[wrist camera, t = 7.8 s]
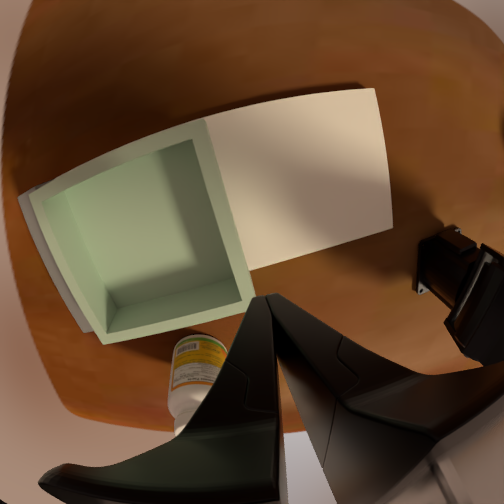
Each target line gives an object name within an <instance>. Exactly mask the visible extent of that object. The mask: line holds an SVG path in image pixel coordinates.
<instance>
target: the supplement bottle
mask: <svg viewBox="0 0 504 504" xmlns="http://www.w3.org/2000/svg"><path fill="white" fill-rule="evenodd" d="M226 356H227V350H226V348H225V346H224V345H223V344H222V343H221V342H220V341H219V340H217V339H215V338H213V337H211V336H207V335H190V336H187V337H185V338H183V339H181V340H180V341H179V342H178V343H177V344H176V346H175V348H174V351H173V357H172V366H171V375H170V384H169V393H168V408H169V411H170V413H171V414H172V416H173V417H174V418H175V421H174V434H175V436H177V435H178V434H179V433H180V432H181V431H182V430H183V429H184V427H185V426H186V424H187V423H188V421H189V420H190V419H191V417H192V416H193V414H194V413H195V411H196V410H197V408H198V407H199V405H200V404H201V402H202V401H203V399H204V398H205V396H206V395H207V393H208V391H209V390H210V388H211V386H212V385H213V383H214V381H215V379H216V377H217V375H218V373H219V371H220V369H221V367H222V365H223V363H224V361H225V358H226Z"/></svg>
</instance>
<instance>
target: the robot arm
mask: <svg viewBox="0 0 504 504" xmlns="http://www.w3.org/2000/svg"><path fill="white" fill-rule="evenodd" d="M480 248H481V249H479V248H477V243H476V242H474V241H473V240H471V239H469V238H468V237H466V236H464V235H462V234H461V229H460V228H458V227H456V228H454V229H449V230H446V231H444V232H441V233H438V234H436V235H435V236H432V237H430V238H427V239H424V240H422V241H420V243H419V249H418V271H417V285H416V292H417V293H418V294H419V295H421V294H423V293H425V292H427V291H431V292H432V293H433V294H434V295H435V296H436V297H438V298H439V299H440V300H441V301H442V302H443V303H444V304H445V305H446V306H447V307H448V308H450V309H451V312H450V314H449V316H448V317H447V318H446V319H445V321H444V325H445V326H446V328H447V330H448V332H449V333H450V335H451V336H452V338H453V340H454V341H455V343H456V345H457V346H458V348H459V350H460V351H461V353H463V354H464V356H465V357H467V358H471V359H473V360H475V361H478V362H480V363H481V364H482V365H483V366H484V367H479V368H474V369H469V370H464V371H458V372H452V373H446V374H439V375H426V374H421V373H417V372H415V371H412V370H410V369H408V368H406V367H403V366H401V365H399V364H397V363H395V362H392V361H390V360H388V359H386V358H384V357H382V356H380V355H378V354H376V353H374V352H372V351H370V350H368V349H366V348H364V347H362V346H360V345H359V344H357V343H355V342H354V341H352V340H350V339H349V338H347V337H346V336H343V335H342V334H341V333H339V332H338V331H336V330H334V329H333V328H331V327H330V326H328V325H327V324H325V323H323V322H322V321H320V320H319V319H317V318H316V317H314V316H313V315H311V314H309V313H308V312H306V311H305V310H303V309H302V308H300V307H299V306H297V305H296V304H294V303H292V302H291V301H289V300H288V299H286V298H285V297H283V296H282V295H280V294H279V293H272V294H267V295H266V296H263V295H262V296H256V297H253V298H252V299H251V301H250V304H249V306H248V308H247V310H246V313H245V315H244V317H243V320H242V322H241V324H240V327H239V329H238V331H237V333H236V336H235V338H234V340H233V343H232V345H231V347H230V349H229V352H228V354H227V356H226V358H225V361H224V363H223V365H222V367H221V369H220V371H219V373H218V375H217V377H216V379H215V381H214V383H213V385H212V386H211V388H210V390H209V391H208V393H207V395H206V396H205V398H204V399H203V401H202V402H201V404H200V405H199V407H198V408H197V410H196V411H195V413H194V414H193V416H192V417H191V419H190V420H189V421H188V423H187V424H186V426H185V427H184V429H183V430H182V431H181V432H180V433H179V434H178V435H177V436H176V437H175V438H174V439H172V440H171V441H169V442H167V443H165V444H163V445H160V446H158V447H156V448H154V449H152V450H149V451H147V452H145V453H142V454H140V455H138V456H135V457H133V458H130V459H128V460H125V461H123V462H120V463H117V464H114V465H110V466H104V467H87V466H81V465H77V464H69V463H66V464H62V465H60V466H57V467H55V468H53V469H51V470H49V471H47V472H46V473H45V474H44V475H43V476H42V477H41V478H40V480H39V481H38V484H39V486H40V487H41V488H42V489H43V490H44V491H46V492H47V493H49V494H50V495H52V496H54V497H55V498H57V499H59V500H61V501H62V502H64V503H66V504H288V493H287V492H288V491H287V478H286V462H285V449H284V437H283V423H282V410H281V398H280V387H279V375H278V364H277V358H278V361H279V364H280V366H281V369H282V371H283V374H284V376H285V379H286V381H287V384H288V386H289V389H290V391H291V394H292V396H293V399H294V401H295V404H296V406H297V409H298V411H299V414H300V416H301V419H302V421H303V423H304V426H305V428H306V431H307V433H308V435H309V438H310V440H311V443H312V445H313V448H314V450H315V452H316V455H317V457H318V459H319V462H320V464H321V467H322V468H323V472H324V474H325V476H326V479H327V481H328V483H329V486H330V488H331V490H332V493H333V495H334V497H335V500H336V502H337V504H504V255H503V254H502V253H500V252H498V251H496V250H495V249H493V248H491V247H489V246H487V245H485V244H483V243H482V244H481V246H480ZM0 504H7V503H5V502H3V501H2V500H0Z"/></svg>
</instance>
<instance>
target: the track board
mask: <svg viewBox="0 0 504 504" xmlns="http://www.w3.org/2000/svg"><path fill="white" fill-rule="evenodd" d="M200 119H203V118H200ZM204 119H205V121H206V123H207V127H208V130H209V134H210V137H211V141H212V144H213V148H214V151H215V155H216V158H217V162H218V165H219V169H220V172H221V176H222V179H223V183H224V186H225V190H226V193H227V197H228V200H229V204H230V207H231V211H232V214H233V218H234V221H235V225H236V228H237V231H238V235H239V238H240V242H241V245H242V249H243V252H244V255H245V259H246V262H247V266H248V269H249V271H250V270H254V269H257V268H261V267H264V266H268V265H271V264H275V263H278V262H281V261H285V260H288V259H292V258H295V257H299V256H302V255H305V254H309V253H312V252H316V251H319V250H322V249H326V248H329V247H332V246H336V245H339V244H342V243H346V242H349V241H352V240H355V239H359V238H362V237H365V236H369V235H372V234H375V233H378V232H382V231H385V230H388V229H391V228H393V217H392V202H391V190H390V180H389V171H388V163H387V155H386V148H385V142H384V136H383V130H382V124H381V119H380V114H379V109H378V104H377V99H376V95H375V90H374V88H368V89H354V90H343V91H333V92H324V93H317V94H309V95H303V96H296V97H290V98H285V99H279V100H274V101H269V102H264V103H259V104H254V105H250V106H246V107H241V108H237V109H233V110H229V111H225V112H221V113H218V114H214V115H211V116H207V117H204ZM197 120H199V119H197ZM194 121H196V120H194ZM190 122H193V121H190ZM187 123H189V122H187ZM184 124H186V123H184ZM181 125H183V124H181ZM178 126H180V125H178ZM175 127H177V126H175ZM172 128H174V127H172ZM169 129H171V128H169ZM166 130H168V129H166ZM163 131H165V130H163ZM160 132H162V131H160ZM160 132H157V133H160ZM157 133H155V134H157ZM152 135H154V134H152ZM149 136H151V135H149ZM149 136H147V137H149ZM144 138H146V137H144ZM141 139H143V138H141ZM141 139H139V140H141ZM136 141H138V140H136ZM136 141H134V142H136ZM131 143H133V142H131ZM131 143H129V144H131ZM126 145H128V144H126ZM126 145H124V146H126ZM122 147H123V146H122ZM119 148H121V147H119ZM119 148H117V149H119ZM115 150H116V149H115ZM112 151H114V150H112ZM112 151H110V152H112ZM108 153H109V152H108ZM105 154H107V153H105ZM105 154H103V155H105ZM103 155H101V156H103ZM99 157H100V156H99ZM97 158H98V157H97ZM95 159H96V158H95ZM92 160H94V159H92ZM92 160H90V161H92ZM90 161H88V162H90ZM88 162H86V163H88ZM86 163H84V164H86ZM84 164H82V165H84ZM80 166H81V165H80ZM78 167H79V166H78ZM76 168H77V167H76ZM74 169H75V168H74ZM72 170H73V169H72ZM72 170H70V171H72ZM70 171H68V172H70ZM68 172H66V173H68ZM66 173H64V174H66ZM64 174H63V175H64ZM61 176H62V175H61ZM59 177H60V176H59ZM57 178H58V177H57ZM55 179H56V178H55ZM55 179H53V180H55ZM53 180H50V181H47V182H45V183H42V184H40V185H37V186H35V187H33V188H31V189H30V190H28V191H26V192H25V193H23V194H22V195H20V196H19V197H17V198H18V201H19V204H20V206H21V209H22V212H23V215H24V217H25V220H26V223H27V225H28V228H29V230H30V233H31V235H32V237H33V240H34V242H35V244H36V247H37V249H38V251H39V253H40V255H41V258H42V260H43V262H44V264H45V266H46V268H47V270H48V272H49V274H50V276H51V278H52V280H53V282H54V284H55V286H56V287H57V289H58V291H59V293H60V295H61V296H62V298H63V300H64V302H65V303H66V305H67V307H68V309H69V310H70V312H71V314H72V315H73V317H74V319H75V320H76V322H77V323H78V325H79V326H80V328H81V330H82V331H83V333H86V332H91V331H94V330H93V328H92V327H91V325H90V323H89V322H88V320H87V319H86V317H85V315H84V314H83V312H82V310H81V309H80V307H79V305H78V303H77V302H76V300H75V298H74V296H73V295H72V293H71V291H70V289H69V287H68V285H67V283H66V282H65V280H64V278H63V276H62V274H61V272H60V270H59V268H58V266H57V264H56V262H55V259H54V257H53V255H52V253H51V251H50V249H49V246H48V244H47V242H46V240H45V237H44V235H43V232H42V230H41V228H40V225H39V223H38V220H37V217H36V215H35V212H34V209H33V207H32V204H31V201H30V198H29V194H30V193H32V192H34V191H35V190H37V189H39V188H40V187H42V186H44V185H46V184H47V183H49V182H51V181H53Z"/></svg>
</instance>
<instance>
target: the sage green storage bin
mask: <svg viewBox="0 0 504 504" xmlns="http://www.w3.org/2000/svg"><path fill="white" fill-rule="evenodd" d="M29 198H30V201H31V204H32V207H33V209H34V212H35V215H36V217H37V220H38V223H39V225H40V228H41V230H42V232H43V235H44V237H45V240H46V242H47V244H48V246H49V249H50V251H51V253H52V255H53V257H54V259H55V262H56V264H57V266H58V268H59V270H60V272H61V274H62V276H63V278H64V280H65V282H66V283H67V285H68V287H69V289H70V291H71V293H72V295H73V296H74V298H75V300H76V302H77V303H78V305H79V307H80V309H81V310H82V312H83V314H84V315H85V317H86V319H87V320H88V322H89V323H90V325H91V327H92V328H93V330H94V331H95V333H96V334H97V336H98V337H99V339H100V340H101V342H102V343H103V345H104V344H110V343H115V342H120V341H125V340H130V339H135V338H139V337H144V336H149V335H153V334H158V333H162V332H166V331H171V330H175V329H179V328H184V327H188V326H192V325H196V324H200V323H204V322H208V321H212V320H216V319H220V318H223V317H227V316H231V315H235V314H238V313H242V312H246V310H247V308H248V306H249V304H250V301H251V299H252V298H253V297H256V295H255V291H254V288H253V284H252V280H251V276H250V273H249V269H248V266H247V262H246V259H245V255H244V252H243V249H242V245H241V242H240V238H239V235H238V231H237V228H236V225H235V221H234V218H233V214H232V211H231V207H230V204H229V200H228V197H227V193H226V190H225V186H224V183H223V179H222V176H221V172H220V169H219V165H218V162H217V158H216V155H215V151H214V148H213V144H212V141H211V137H210V134H209V130H208V127H207V123H206V121H205V119H204V118H203V119H199V120H196V121H193V122H189V123H186V124H183V125H180V126H177V127H174V128H171V129H168V130H165V131H162V132H160V133H157V134H154V135H151V136H149V137H146V138H143V139H141V140H138V141H136V142H133V143H131V144H128V145H126V146H123V147H121V148H119V149H116V150H114V151H112V152H109V153H107V154H105V155H103V156H100V157H98V158H96V159H94V160H92V161H90V162H88V163H86V164H84V165H81V166H79V167H77V168H75V169H73V170H72V171H70V172H68V173H66V174H64V175H62V176H60V177H58V178H56V179H55V180H53V181H51V182H49V183H47V184H46V185H44V186H42V187H40V188H39V189H37V190H35V191H34V192H32V193H30V194H29Z"/></svg>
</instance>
